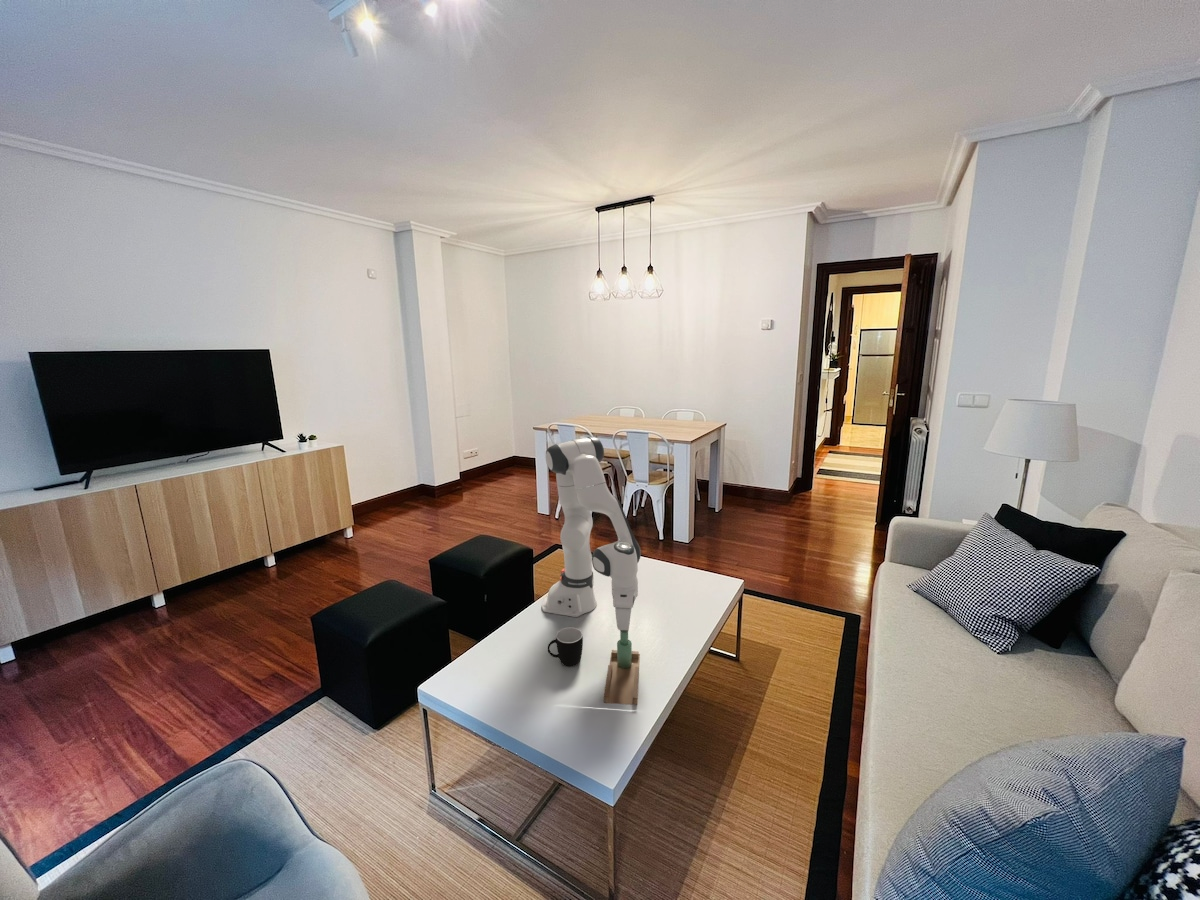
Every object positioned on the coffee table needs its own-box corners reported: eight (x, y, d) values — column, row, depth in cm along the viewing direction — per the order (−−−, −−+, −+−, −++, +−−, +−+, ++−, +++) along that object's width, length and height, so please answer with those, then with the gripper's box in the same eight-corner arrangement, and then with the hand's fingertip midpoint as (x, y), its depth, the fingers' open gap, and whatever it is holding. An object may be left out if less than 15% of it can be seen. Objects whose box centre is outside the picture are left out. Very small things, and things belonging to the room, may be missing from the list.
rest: (603, 703, 144) (603, 695, 144) (611, 652, 167) (611, 646, 167) (637, 705, 143) (637, 697, 142) (639, 654, 166) (640, 647, 166)
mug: (582, 651, 168) (582, 626, 166) (584, 668, 160) (583, 642, 157) (548, 654, 167) (547, 628, 165) (548, 671, 159) (546, 644, 156)
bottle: (616, 668, 159) (616, 631, 156) (617, 659, 164) (617, 623, 161) (631, 669, 158) (631, 632, 155) (631, 660, 163) (631, 624, 160)
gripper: (618, 574, 172) (618, 609, 175) (612, 605, 152) (613, 644, 156) (635, 575, 171) (636, 610, 175) (632, 606, 152) (633, 644, 155)
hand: (625, 626), depth 165 cm, fingers closed
